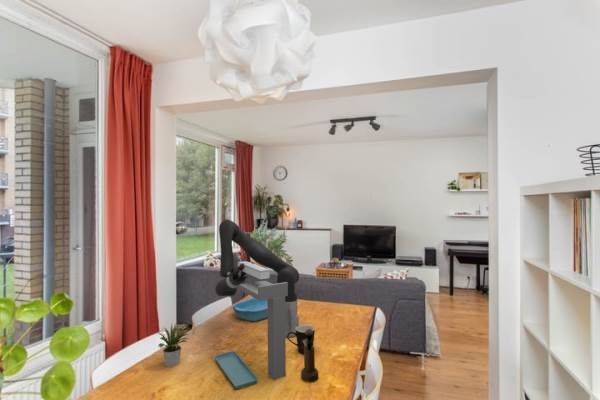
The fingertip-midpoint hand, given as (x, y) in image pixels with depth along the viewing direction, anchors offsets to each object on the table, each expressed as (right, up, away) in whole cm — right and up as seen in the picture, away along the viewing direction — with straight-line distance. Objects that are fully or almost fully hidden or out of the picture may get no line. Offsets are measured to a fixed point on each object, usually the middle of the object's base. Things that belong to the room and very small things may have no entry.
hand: (248, 264), depth 141 cm
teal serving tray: (-3, -39, -15) cm, 42 cm away
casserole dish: (-1, -40, +53) cm, 67 cm away
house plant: (-30, -39, -11) cm, 50 cm away
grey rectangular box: (+2, -3, -4) cm, 6 cm away
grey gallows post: (+8, -39, -13) cm, 42 cm away
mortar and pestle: (+26, -39, -20) cm, 51 cm away
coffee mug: (+24, -39, +2) cm, 46 cm away
